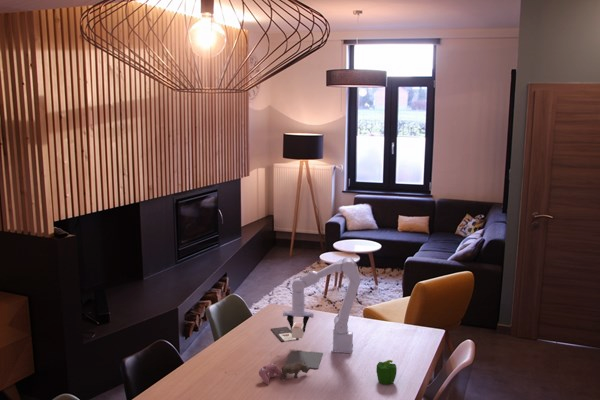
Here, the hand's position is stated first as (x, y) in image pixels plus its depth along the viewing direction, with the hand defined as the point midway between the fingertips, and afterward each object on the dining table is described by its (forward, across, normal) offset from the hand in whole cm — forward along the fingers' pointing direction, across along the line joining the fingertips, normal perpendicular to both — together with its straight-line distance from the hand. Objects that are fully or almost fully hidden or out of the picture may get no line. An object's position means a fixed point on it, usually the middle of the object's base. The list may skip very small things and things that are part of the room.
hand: (298, 331), depth 268 cm
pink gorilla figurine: (+9, +6, +34) cm, 36 cm away
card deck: (+2, 0, 0) cm, 2 cm away
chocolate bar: (+9, +10, -17) cm, 21 cm away
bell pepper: (+9, -42, +29) cm, 52 cm away
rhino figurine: (+9, -4, +30) cm, 31 cm away
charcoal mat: (+9, -5, +13) cm, 16 cm away
